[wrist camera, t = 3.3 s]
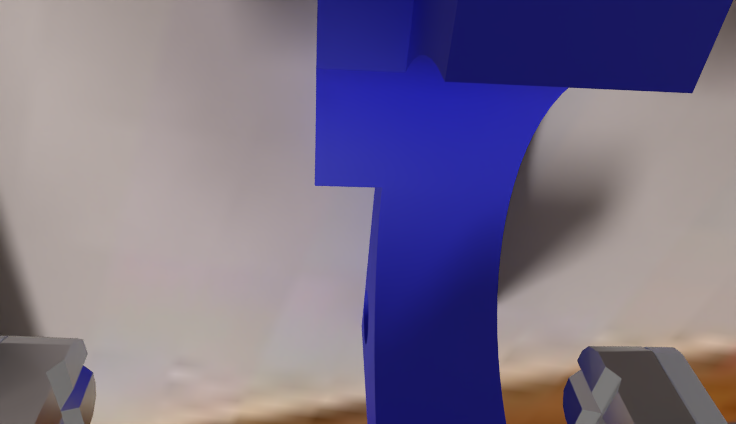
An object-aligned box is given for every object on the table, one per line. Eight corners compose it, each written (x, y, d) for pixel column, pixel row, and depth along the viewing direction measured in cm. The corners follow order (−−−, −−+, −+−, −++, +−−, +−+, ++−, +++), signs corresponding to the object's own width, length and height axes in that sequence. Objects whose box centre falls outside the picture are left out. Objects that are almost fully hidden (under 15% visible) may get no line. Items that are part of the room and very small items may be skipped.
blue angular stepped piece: (322, -136, 10) (315, -71, 6) (561, -117, 11) (751, -41, 6) (312, 321, 17) (306, 524, 13) (457, 322, 18) (504, 520, 13)
